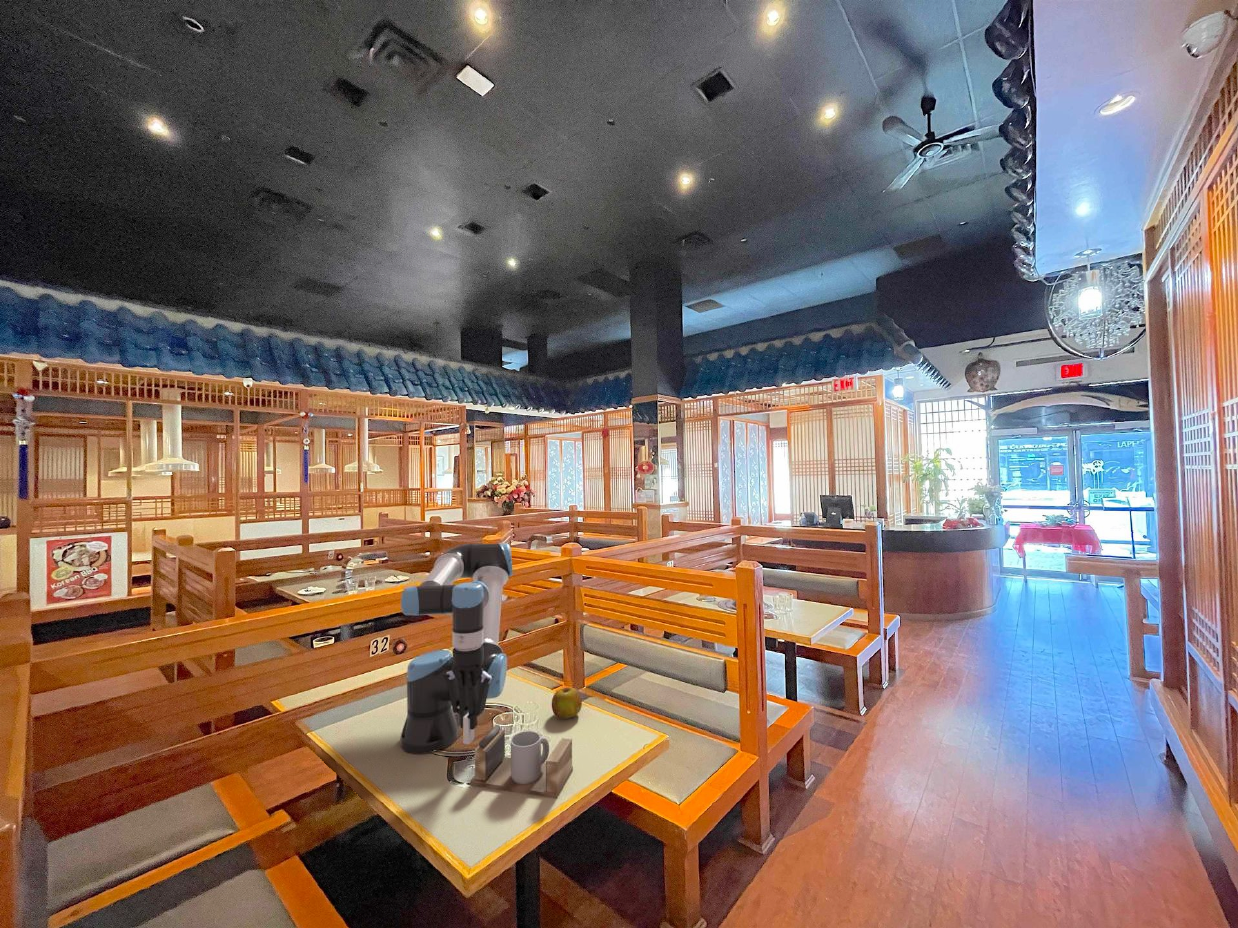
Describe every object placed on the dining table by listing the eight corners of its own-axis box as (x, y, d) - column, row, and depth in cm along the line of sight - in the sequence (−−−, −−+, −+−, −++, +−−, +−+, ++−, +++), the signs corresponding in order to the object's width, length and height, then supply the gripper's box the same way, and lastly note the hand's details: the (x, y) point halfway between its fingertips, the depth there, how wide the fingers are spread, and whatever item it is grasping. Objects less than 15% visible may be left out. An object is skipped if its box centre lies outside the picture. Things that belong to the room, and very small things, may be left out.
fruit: (562, 706, 160) (562, 680, 160) (587, 711, 156) (587, 685, 156) (545, 720, 151) (545, 693, 151) (571, 726, 147) (571, 698, 147)
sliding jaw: (475, 778, 120) (474, 742, 120) (495, 755, 130) (494, 722, 130) (486, 780, 120) (486, 744, 120) (505, 757, 129) (505, 723, 129)
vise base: (470, 784, 120) (469, 751, 120) (492, 759, 131) (492, 728, 131) (556, 798, 115) (556, 763, 115) (572, 770, 125) (572, 738, 126)
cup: (505, 774, 123) (505, 737, 123) (541, 759, 129) (541, 724, 129) (519, 788, 117) (519, 750, 117) (556, 772, 123) (556, 735, 123)
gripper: (436, 649, 124) (437, 745, 124) (484, 653, 121) (484, 752, 121) (453, 639, 132) (454, 730, 131) (498, 643, 129) (499, 736, 128)
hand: (468, 740), depth 126 cm, fingers closed
